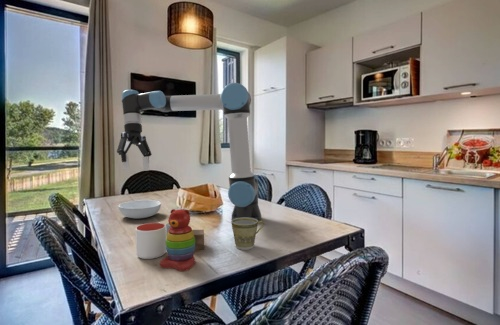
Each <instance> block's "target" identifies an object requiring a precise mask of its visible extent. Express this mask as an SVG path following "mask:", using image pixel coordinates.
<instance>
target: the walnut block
mask: <svg viewBox="0 0 500 325" xmlns="http://www.w3.org/2000/svg"><path fill="white" fill-rule="evenodd" d="M192 230H193V233H194V237H195V249H194V252H198V251H199V252H200V251H201V252H202V251H205V229H192Z"/></svg>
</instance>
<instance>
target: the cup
mask: <svg viewBox="0 0 500 325" xmlns="http://www.w3.org/2000/svg"><path fill="white" fill-rule="evenodd" d="M135 251H136V256H137V257H138V258H140V259H144V260H152V259H158V258H160V257H162V256H163V255H164V254H165V253H167V250H166V224H165V223H161V222H148V223H144V224H143V223H142V224H139V225H137V226H136V227H135Z"/></svg>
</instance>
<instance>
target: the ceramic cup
mask: <svg viewBox="0 0 500 325" xmlns="http://www.w3.org/2000/svg"><path fill="white" fill-rule="evenodd" d="M260 223H262V225H261V227H260V228H259V229H258V225H259V224H260ZM264 226H265V223H264V221H263V220H262V219H261V220H260V221H258V220H257V219H254V218H248V217H242V218H236V219H233V220H231V229H232V232H233V238H234V245H235V248H236V249H238V250H243V251H249V250H252V249H253V248H254V247H255V241H256V235H257V234H258V233H259V232H260V231H261V230H262V229H263V227H264Z"/></svg>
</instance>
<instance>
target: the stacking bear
mask: <svg viewBox="0 0 500 325" xmlns="http://www.w3.org/2000/svg"><path fill="white" fill-rule="evenodd" d="M167 220H168V223H169V224H170V226H171V228H170V229H169V231H168V233H167V239H166V253H167V256H166V257H164V258H162V259H161V260H160V262H159V267H160V268H164V269H168V268H169V269H171V268H172V269H176V270H177V271H179V272H186V271H190V269H192V268H193V267H194V266H195V264H196V258H195V256H194V254H195V251H194V249H195V237H194V233H193V230H194V229H192V227H191V226H190V221H191V215H190V211H189V210H188V209H183V208H181V209H179V208H178V209H176V208H175V209H174V208H172V209H171V210H170V214H169V217H168V219H167Z"/></svg>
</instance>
